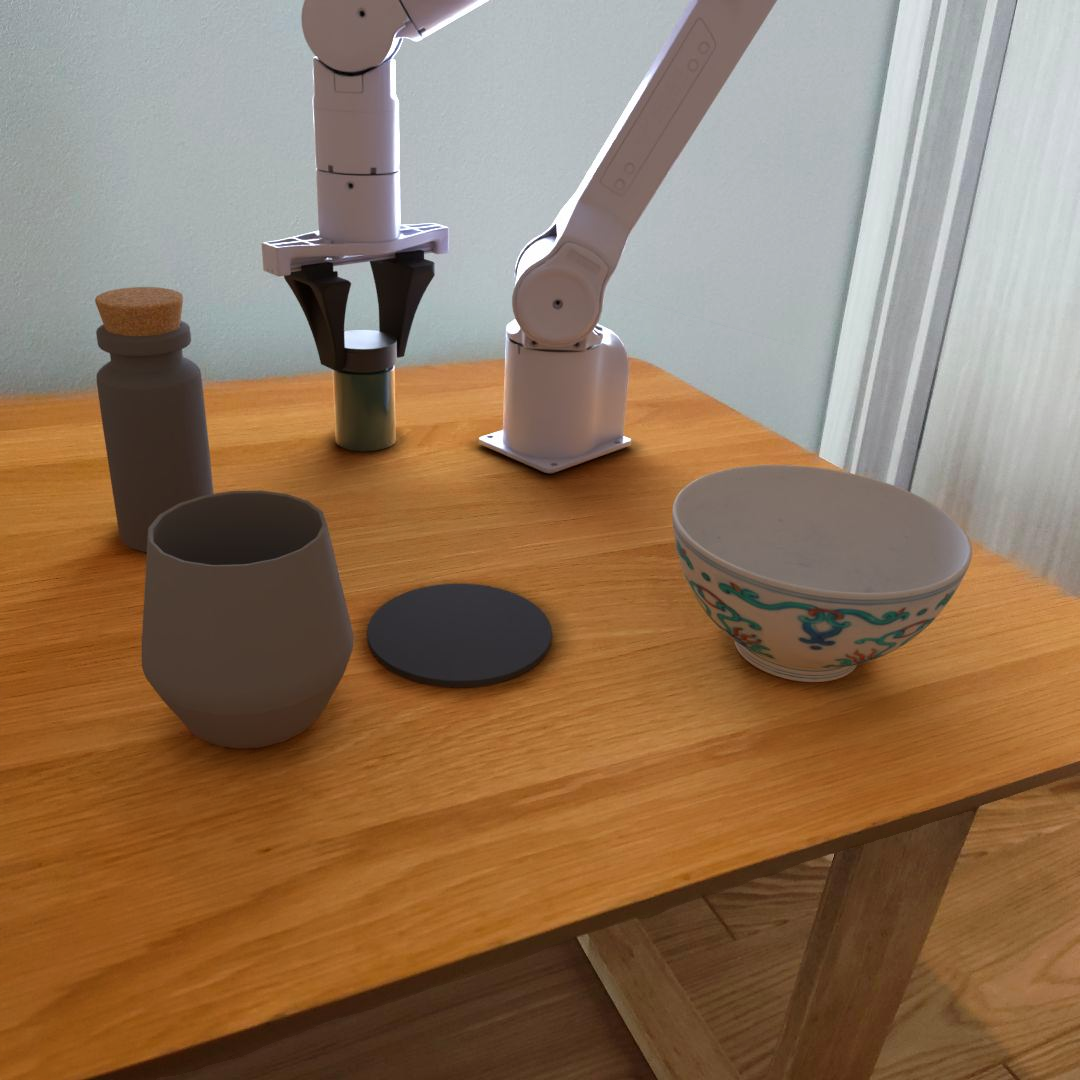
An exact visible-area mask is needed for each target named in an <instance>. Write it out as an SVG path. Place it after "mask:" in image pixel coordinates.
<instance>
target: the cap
mask: <svg viewBox="0 0 1080 1080" xmlns="http://www.w3.org/2000/svg"><path fill="white" fill-rule="evenodd" d="M344 339H345V361H344V368H343V370H348V371H358V372H369V371H379V370H384V369H387V368H390V367H392V366H394V367H395V365H396V364H397V363H398V358H397V339H396V337H395V336H393V335H391V334H388V333H385V332H381V331H379V330H372V329H352V330H344Z"/></svg>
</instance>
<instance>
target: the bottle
mask: <svg viewBox="0 0 1080 1080" xmlns="http://www.w3.org/2000/svg"><path fill="white" fill-rule="evenodd" d="M94 299H95V300H94V302H95V305H96V307H97V310H98V311H97V312H98V313H99V317H100V319H101V322H102V324H101V325H100V326H98V328H96V331H95V332H96V341H97V347H98V348H99V349H100V350H101V351H104V352H105V353H107V354H109V357H110V361H108V362H107V363H105V364H103V365H102V367H101V368H100V369H99V370H98V372H97V373H96V386H97V387H96V388H97V394H98V402H99V409H100V417H101V424H102V430H103V437H104V438H103V439H104V444H105V449H106V450H105V451H106V456H107V463H108V471H109V477H110V483H111V489H112V497H113V503H114V509H115V516H116V523H117V529H118V532H119V533H118V534H119V538H120V542H122V543H123V544H124V546H126V547H128V548H130V549H131V550H134V551H138V552H142V553H147V540H148V528H149V527H150V525H151V524H152V523H153V522H154V520H155V519H156V518H157V517H158V516H159V515H160V514H161V513H163V512H165V511H167V510H168V509H170V508H172V507H174V506H175V505H177V504H179V503H182V502H185V501H188V500H191V499H195V498H198V497H201V496H204V495H210V494H215V493H214V483H213V474H212V472H213V471H212V463H211V454H210V443H209V433H208V424H207V414H206V413H207V412H206V404H205V396H204V385H203V379H202V372H201V368H200V367H199V366H198V365H197V364H196V362H194V361H193V360H191V359H189V358H187V357H185V356H184V353H183V349H185V348H187V347H189V346H190V345H191V342H192V333H191V327H190V325H189V324H188V323H187V322H186V321H183V320H182V314H183V313H182V312H183V305H184V295H183V294H182V293H181V292H180V291H177V290H175V289H171V288H165V287H155V286H135V287H133V286H132V287H124V288H117V289H111V290H107V291H105V292H102V293H99V294H98V295H96V297H95V298H94Z"/></svg>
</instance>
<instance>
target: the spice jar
mask: <svg viewBox="0 0 1080 1080" xmlns="http://www.w3.org/2000/svg"><path fill="white" fill-rule="evenodd" d="M331 370H332V369H331ZM395 373H396V372H395V365H394V366H392V367H390V368H387V369H384V370H379V371H369V372H358V371H348V370H343V369H341V370H332V390H333V392H332V393H333V407H334V408H333V411H334V412H333V413H334V414H333V415H334V435H335V443H336V444H337V445H338V446H339V447H341V448H343V449H344V450H345V449H346V450H349V451H354V452H376V451H382V450H386V449H387V448H390V447H391V446H393V445H394V444H395V443H396V440H397V438H396V437H397V435H396V430H397V429H396V427H397V426H396V379H395V378H396V376H395V375H396V374H395Z"/></svg>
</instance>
